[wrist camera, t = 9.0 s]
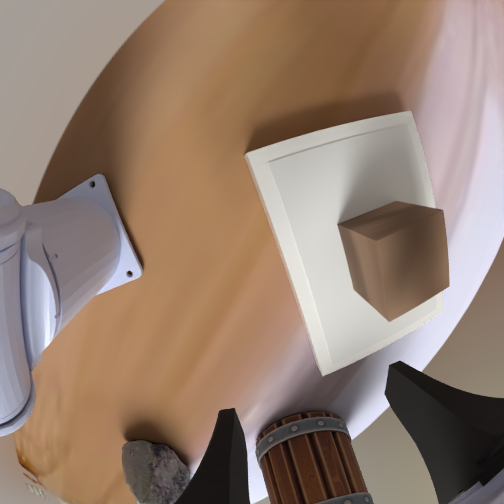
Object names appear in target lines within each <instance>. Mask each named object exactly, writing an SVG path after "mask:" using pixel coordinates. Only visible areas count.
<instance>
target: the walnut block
mask: <svg viewBox="0 0 504 504" xmlns="http://www.w3.org/2000/svg"><path fill="white" fill-rule="evenodd" d="M337 226H338V229H339V233H340V237H341V240H342V244H343V248H344V252H345V256H346V260H347V264H348V268H349V272H350V276H351V280H352V285H353V289H354V291H356V292H357V293H358V294H359V295H360V296H361V297H362V298H363V299H364V300H366V301H367V302H368V303H369V304H370V305H371V306H372V307H373V308H374V309H375V310H377V311H378V312H379V313H380V314H381V315H382V316H383V317H384V318H385V319H386V320H387V321H388V322H391V321H392V320H394V319H396V318H398V317H400V316H402V315H403V314H405V313H407V312H409V311H410V310H412V309H414V308H415V307H417V306H419V305H420V304H422V303H424V302H425V301H427V300H429V299H430V298H432V297H433V296H435V295H437V294H438V293H440V292H441V291H443V290H444V289H446V288H447V287H449V261H448V247H447V237H446V228H445V220H444V213H443V210H441V209H436V208H431V207H426V206H421V205H416V204H411V203H405V202H400V201H394V202H392V203H389V204H387V205H384V206H382V207H379V208H377V209H374V210H372V211H369V212H367V213H364V214H362V215H359V216H357V217H354V218H352V219H349V220H346V221H344V222H341V223H339V224H337Z"/></svg>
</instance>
